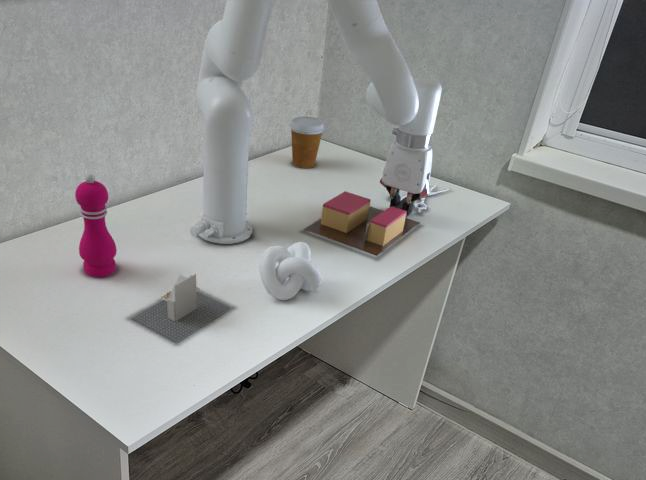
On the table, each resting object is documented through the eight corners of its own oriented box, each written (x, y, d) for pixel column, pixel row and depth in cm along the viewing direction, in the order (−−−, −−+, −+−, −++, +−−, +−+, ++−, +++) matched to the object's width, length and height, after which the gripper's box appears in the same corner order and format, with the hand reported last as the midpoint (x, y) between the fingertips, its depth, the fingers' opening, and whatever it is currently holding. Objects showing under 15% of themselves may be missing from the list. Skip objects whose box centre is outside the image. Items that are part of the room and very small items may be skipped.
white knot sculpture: (276, 313, 120) (280, 271, 115) (245, 283, 128) (246, 242, 123) (326, 298, 125) (331, 258, 120) (292, 271, 133) (296, 231, 128)
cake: (346, 233, 147) (349, 212, 144) (320, 224, 150) (322, 203, 147) (367, 219, 153) (370, 199, 150) (342, 210, 157) (345, 191, 154)
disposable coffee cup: (282, 159, 185) (285, 116, 177) (313, 157, 187) (317, 115, 180) (293, 171, 177) (297, 127, 170) (325, 169, 180) (330, 126, 173)
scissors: (384, 198, 164) (428, 178, 176) (384, 200, 164) (427, 181, 176) (419, 212, 158) (462, 191, 170) (418, 215, 159) (461, 193, 170)
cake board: (376, 259, 139) (377, 255, 139) (303, 232, 148) (303, 229, 147) (419, 225, 154) (420, 222, 153) (350, 203, 162) (351, 200, 162)
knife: (369, 242, 143) (371, 225, 141) (360, 238, 144) (363, 222, 142) (411, 212, 158) (415, 196, 156) (403, 209, 159) (406, 194, 157)
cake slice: (382, 246, 143) (386, 225, 140) (366, 240, 144) (370, 220, 141) (402, 231, 149) (407, 211, 146) (387, 225, 151) (391, 205, 148)
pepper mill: (82, 280, 126) (70, 182, 114) (80, 262, 132) (68, 167, 120) (120, 277, 128) (111, 180, 116) (116, 259, 133) (107, 165, 121)
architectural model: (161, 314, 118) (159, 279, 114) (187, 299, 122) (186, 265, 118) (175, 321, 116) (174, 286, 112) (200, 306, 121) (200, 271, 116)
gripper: (374, 134, 145) (362, 210, 156) (440, 151, 138) (423, 230, 149) (389, 126, 150) (376, 200, 161) (454, 143, 143) (436, 219, 154)
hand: (399, 214), depth 155 cm, fingers closed on knife, 2 cm apart
